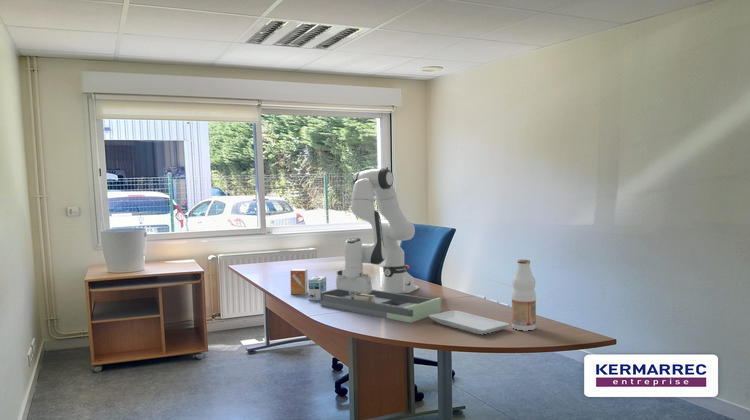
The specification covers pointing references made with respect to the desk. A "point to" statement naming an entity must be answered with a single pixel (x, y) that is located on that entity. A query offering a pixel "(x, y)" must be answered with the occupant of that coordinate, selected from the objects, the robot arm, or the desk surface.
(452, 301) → the desk surface
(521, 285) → the fruit juice
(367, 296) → the block
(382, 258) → the robot arm
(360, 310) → the tray
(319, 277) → the light bulb box
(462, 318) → the tray
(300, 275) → the small box
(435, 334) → the desk surface
